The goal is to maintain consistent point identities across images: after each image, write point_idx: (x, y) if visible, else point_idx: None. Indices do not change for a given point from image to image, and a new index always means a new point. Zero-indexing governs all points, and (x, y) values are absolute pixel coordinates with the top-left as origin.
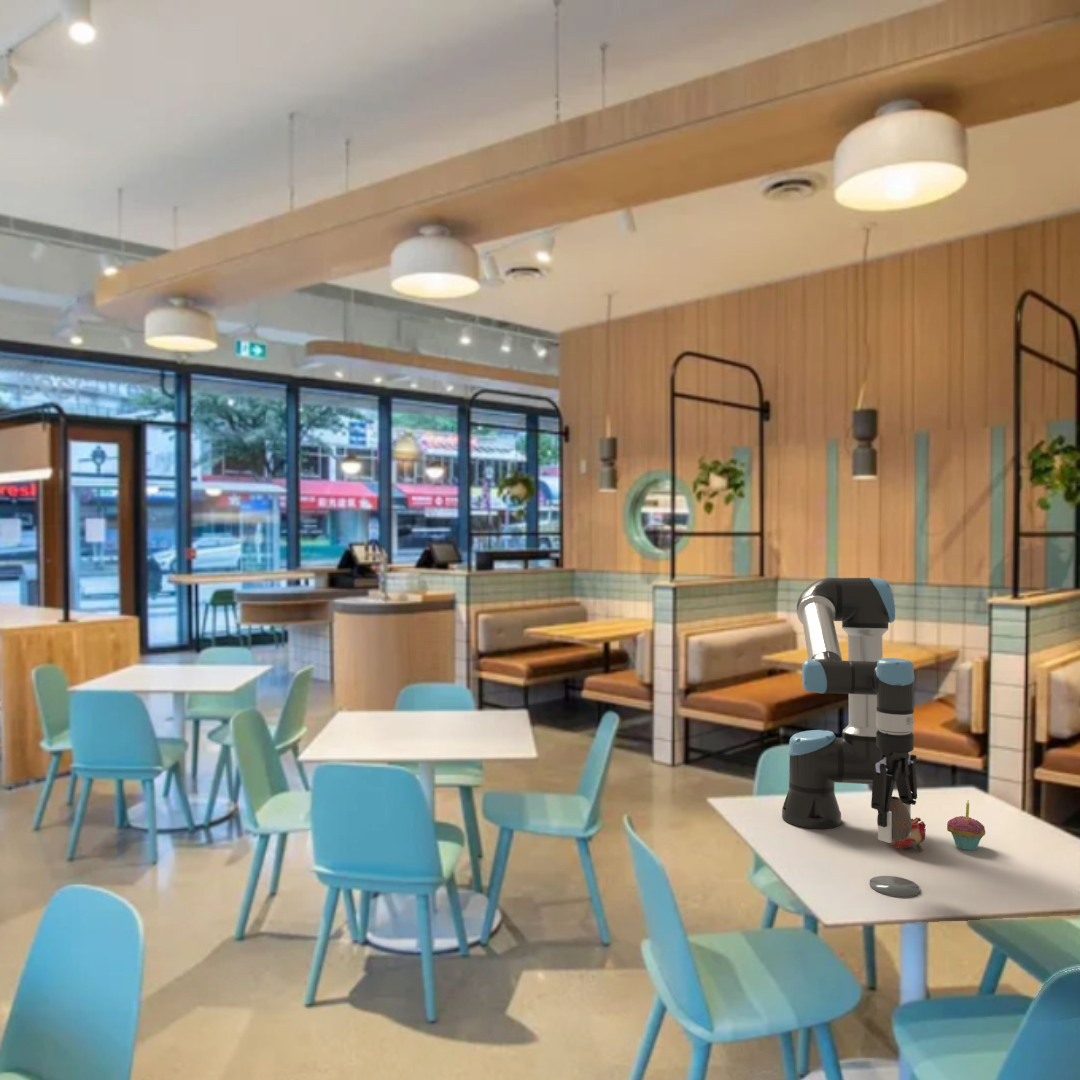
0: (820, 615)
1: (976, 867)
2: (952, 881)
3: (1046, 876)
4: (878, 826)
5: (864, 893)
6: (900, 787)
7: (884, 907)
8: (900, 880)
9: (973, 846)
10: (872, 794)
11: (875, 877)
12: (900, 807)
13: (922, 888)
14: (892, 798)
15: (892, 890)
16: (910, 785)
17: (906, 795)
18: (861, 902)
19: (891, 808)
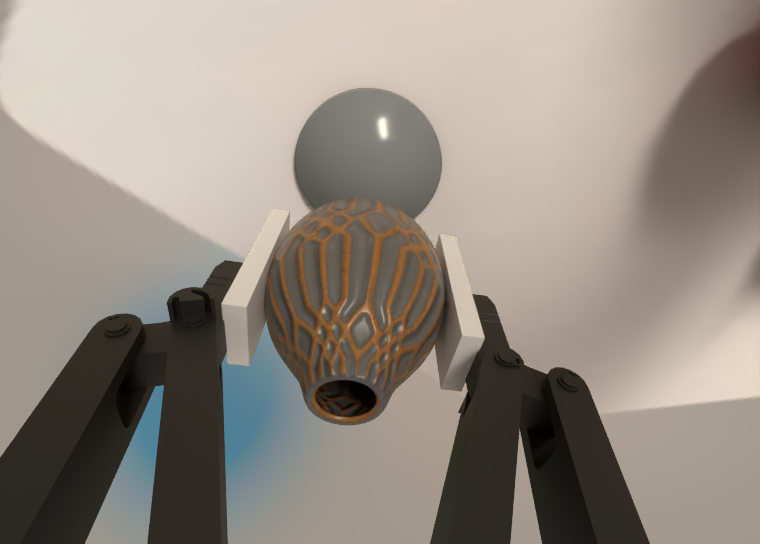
0: None
1: (666, 275)
2: (520, 262)
3: (662, 379)
4: (254, 243)
5: (254, 113)
6: (459, 460)
7: (214, 197)
8: (416, 170)
9: None
10: (40, 407)
11: (386, 97)
12: (322, 395)
13: (419, 224)
14: (382, 369)
15: (322, 181)
16: (544, 493)
17: (459, 430)
18: (185, 136)
19: (286, 360)
